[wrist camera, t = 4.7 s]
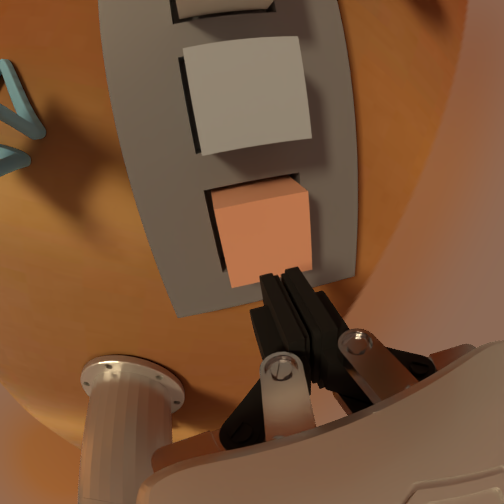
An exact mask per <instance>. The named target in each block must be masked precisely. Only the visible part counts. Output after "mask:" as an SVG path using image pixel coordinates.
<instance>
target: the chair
mask: <svg viewBox="0 0 504 504" xmlns="http://www.w3.org/2000/svg"><path fill="white" fill-rule="evenodd" d="M1 74H2V75H3V78H4V81H5V83H6V86H7V89H8V92H9V95H10V97H11V100H12V102H13V105H14V107H15V110H16V112H17V114H18V115H17V114H16V113H14V112H13V111H11V110H10V109H8V108H7V107H5V106H3V105H2V104H0V120H1V121H3V122H5V123H6V124H8V125H10V126H11V127H13V128H15V129H16V130H18V131H20V132H21V133H23V134H24V135H26V136H28V137H29V138H31V139H34V140H36V139H42V138H44V137H45V135H46V130H45V128H44V126H43V125H42V123H41V122H40V120H39V119H38V117H37V116H36V114H35V112H34V110H33V109H32V107H31V105H30V103H29V101H28V98H27V96H26V94H25V92H24V90H23V88H22V85H21V83H20V81H19V78H18V76H17V74H16V72H15V69H14V67H13V65H12V63H11V62H10V61H9V60H7V59H1V60H0V76H1ZM30 163H31V158H30V156H29V155H28V154H26V153H25V152H23V151H21V150H18V149H16V148H13V147H9V146H6V145H2V144H0V177H1V176H3V175H5V174H8V173H10V172H12V171H15V170H18V169H20V168H24V167H27V166H29V165H30Z"/></svg>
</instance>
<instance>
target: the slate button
mask: <svg viewBox="0 0 504 504" xmlns="http://www.w3.org/2000/svg"><path fill="white" fill-rule="evenodd" d="M183 54H184V60H185V66H186V72H187V78H188V83H189V89H190V95H191V100H192V106H193V111H194V116H195V122H196V127H197V132H198V137H199V142H200V147H201V152H202V156H205V155H209V154H214V153H219V152H224V151H229V150H235V149H240V148H246V147H252V146H258V145H264V144H271V143H278V142H285V141H293V140H301V139H310V138H312V134H311V124H310V115H309V107H308V99H307V91H306V84H305V76H304V70H303V63H302V57H301V51H300V45H299V39H298V36H282V37H260V38H248V39H238V40H229V41H222V42H215V43H208V44H202V45H197V46H192V47H187V48H183Z"/></svg>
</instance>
